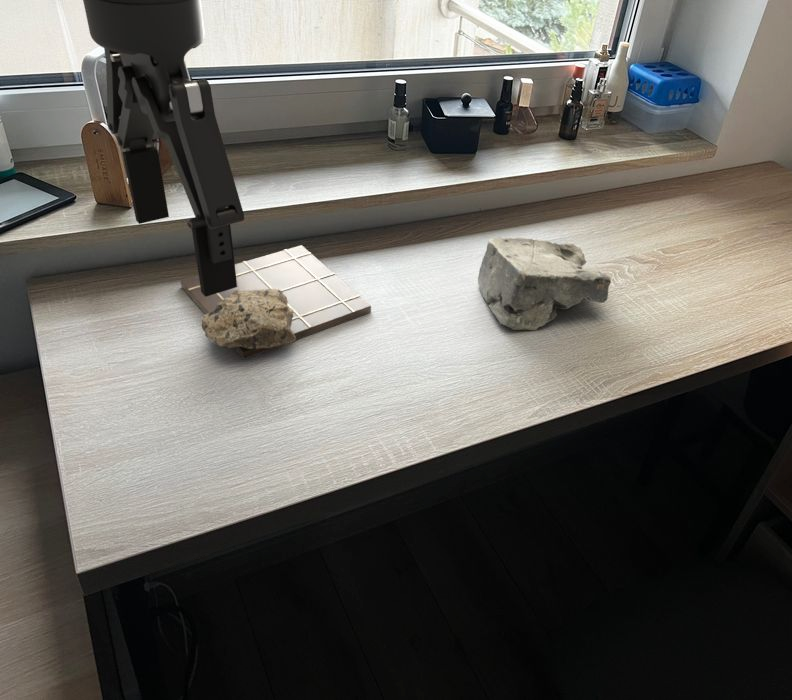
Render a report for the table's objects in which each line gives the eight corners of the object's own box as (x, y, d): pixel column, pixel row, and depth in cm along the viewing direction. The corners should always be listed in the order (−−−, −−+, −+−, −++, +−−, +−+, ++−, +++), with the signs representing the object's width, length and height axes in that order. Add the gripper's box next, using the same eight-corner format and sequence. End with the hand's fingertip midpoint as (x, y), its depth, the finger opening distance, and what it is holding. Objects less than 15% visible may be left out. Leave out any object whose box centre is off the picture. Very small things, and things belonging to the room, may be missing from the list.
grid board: (243, 359, 95) (243, 351, 94) (181, 287, 106) (179, 279, 106) (371, 312, 106) (371, 304, 105) (301, 251, 117) (301, 243, 116)
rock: (205, 311, 100) (201, 284, 98) (291, 305, 103) (289, 279, 101) (204, 360, 92) (199, 333, 89) (298, 352, 95) (296, 325, 92)
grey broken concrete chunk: (609, 332, 109) (623, 270, 104) (498, 333, 104) (508, 268, 100) (570, 290, 122) (581, 234, 118) (470, 289, 118) (478, 230, 113)
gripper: (281, 26, 44) (296, 310, 57) (127, -58, 58) (168, 185, 71) (158, 38, 40) (205, 341, 53) (25, -56, 54) (88, 202, 67)
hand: (184, 252), depth 62 cm, fingers open, 13 cm apart
